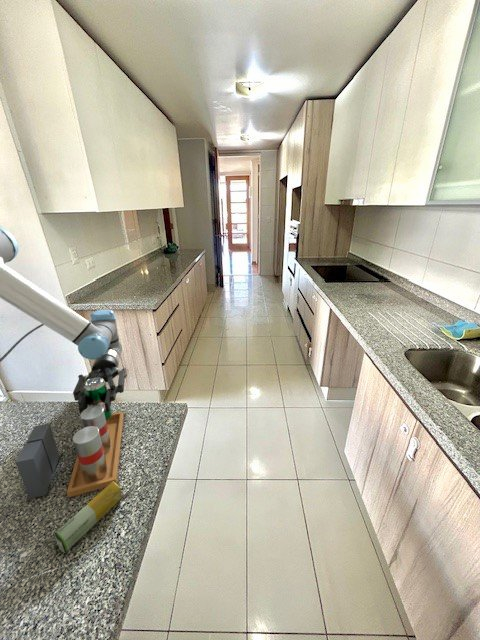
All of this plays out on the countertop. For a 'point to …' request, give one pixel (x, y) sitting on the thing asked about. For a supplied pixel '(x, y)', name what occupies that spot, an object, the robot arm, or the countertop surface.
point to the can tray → (112, 458)
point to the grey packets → (38, 460)
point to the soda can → (97, 394)
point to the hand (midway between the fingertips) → (94, 409)
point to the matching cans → (92, 444)
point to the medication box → (87, 517)
